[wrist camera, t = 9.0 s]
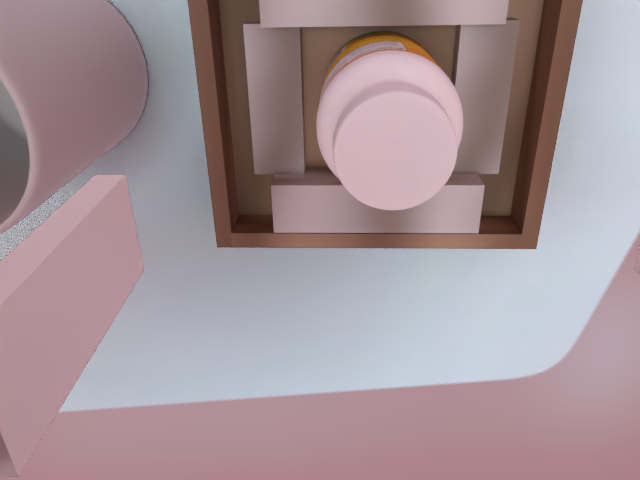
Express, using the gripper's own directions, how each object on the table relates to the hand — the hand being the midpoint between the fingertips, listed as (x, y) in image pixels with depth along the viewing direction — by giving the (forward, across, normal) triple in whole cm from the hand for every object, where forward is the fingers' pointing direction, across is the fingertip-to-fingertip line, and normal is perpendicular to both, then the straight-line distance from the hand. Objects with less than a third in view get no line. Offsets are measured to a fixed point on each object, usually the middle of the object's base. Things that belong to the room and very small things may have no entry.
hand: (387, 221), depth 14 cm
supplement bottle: (+14, +1, 0) cm, 14 cm away
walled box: (+15, +1, 0) cm, 15 cm away
